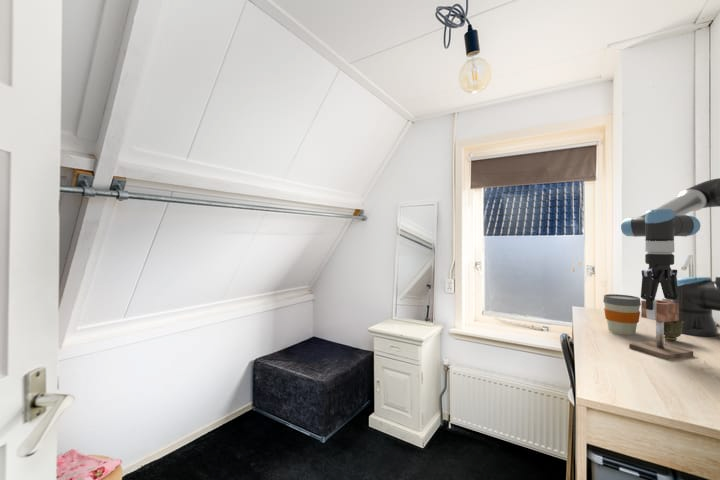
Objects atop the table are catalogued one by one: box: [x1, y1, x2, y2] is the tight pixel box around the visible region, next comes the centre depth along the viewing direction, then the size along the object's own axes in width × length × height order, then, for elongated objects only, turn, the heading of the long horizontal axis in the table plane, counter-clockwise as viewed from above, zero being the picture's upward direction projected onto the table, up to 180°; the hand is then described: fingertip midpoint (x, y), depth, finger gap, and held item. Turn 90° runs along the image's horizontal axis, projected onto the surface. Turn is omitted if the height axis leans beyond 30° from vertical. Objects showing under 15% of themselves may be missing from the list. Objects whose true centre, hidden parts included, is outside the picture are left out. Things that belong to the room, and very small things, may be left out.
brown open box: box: [640, 299, 679, 322], centre depth 114 cm, size 7×7×6 cm
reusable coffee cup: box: [603, 293, 641, 336], centre depth 139 cm, size 13×12×15 cm
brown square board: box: [628, 340, 694, 361], centre depth 114 cm, size 12×12×2 cm
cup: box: [664, 321, 684, 342], centre depth 126 cm, size 8×7×8 cm
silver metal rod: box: [655, 320, 665, 348], centre depth 114 cm, size 2×2×13 cm
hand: (659, 318), depth 114 cm, fingers closed on brown open box, 7 cm apart
